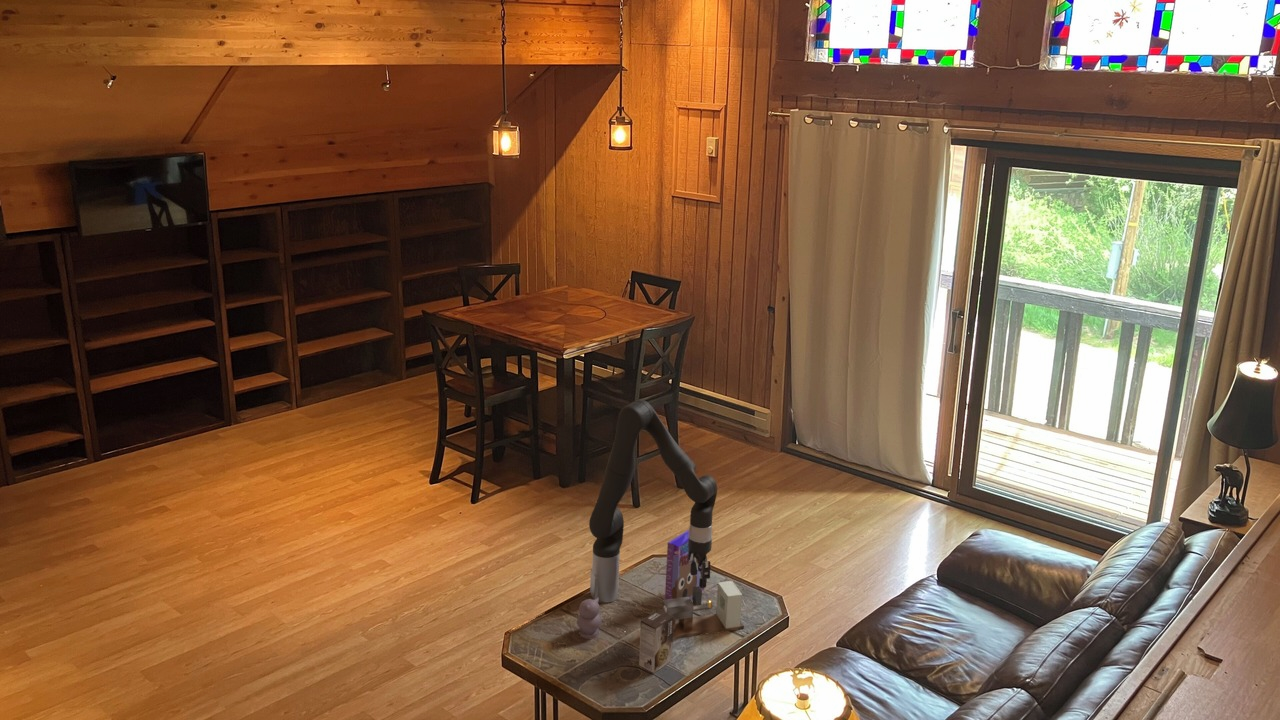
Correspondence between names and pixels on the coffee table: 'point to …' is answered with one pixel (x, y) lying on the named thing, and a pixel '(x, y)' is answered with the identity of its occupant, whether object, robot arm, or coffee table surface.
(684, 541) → the cereal box
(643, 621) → the coffee box
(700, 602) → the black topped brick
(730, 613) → the socket block
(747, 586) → the coffee table surface
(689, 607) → the board
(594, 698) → the coffee table surface
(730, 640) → the coffee table surface
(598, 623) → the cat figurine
